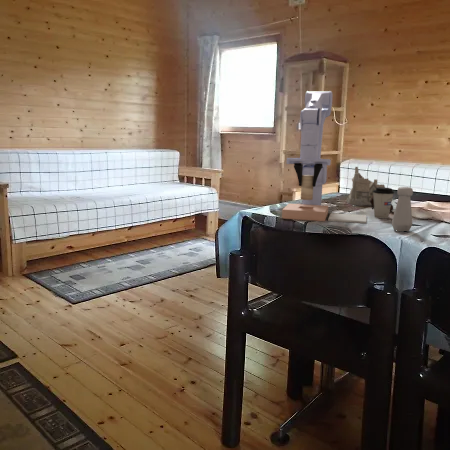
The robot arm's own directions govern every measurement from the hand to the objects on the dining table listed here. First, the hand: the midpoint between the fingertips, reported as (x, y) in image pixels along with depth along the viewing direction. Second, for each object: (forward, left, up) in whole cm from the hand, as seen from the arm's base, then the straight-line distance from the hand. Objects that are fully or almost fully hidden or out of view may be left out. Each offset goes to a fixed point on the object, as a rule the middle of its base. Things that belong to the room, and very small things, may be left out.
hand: (307, 186), depth 157 cm
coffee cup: (-8, +25, -11) cm, 28 cm away
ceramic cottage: (-41, +20, -11) cm, 47 cm away
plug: (0, 0, -4) cm, 4 cm away
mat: (0, +14, -10) cm, 17 cm away
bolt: (-25, +26, -11) cm, 37 cm away
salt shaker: (+14, +30, -11) cm, 35 cm away
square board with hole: (0, 0, -10) cm, 10 cm away
